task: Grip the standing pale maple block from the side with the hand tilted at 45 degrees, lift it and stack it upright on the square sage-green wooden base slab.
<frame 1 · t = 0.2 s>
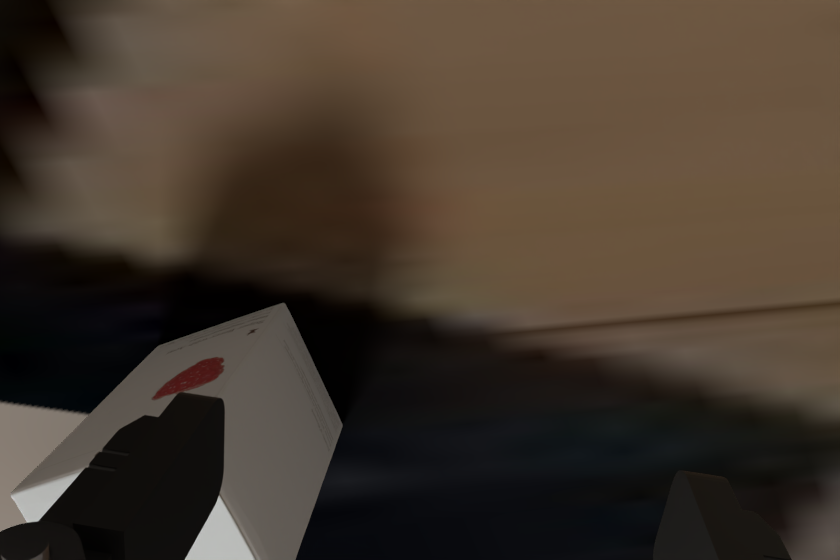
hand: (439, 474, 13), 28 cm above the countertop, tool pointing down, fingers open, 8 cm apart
supplement box: (251, 383, 45), on the countertop
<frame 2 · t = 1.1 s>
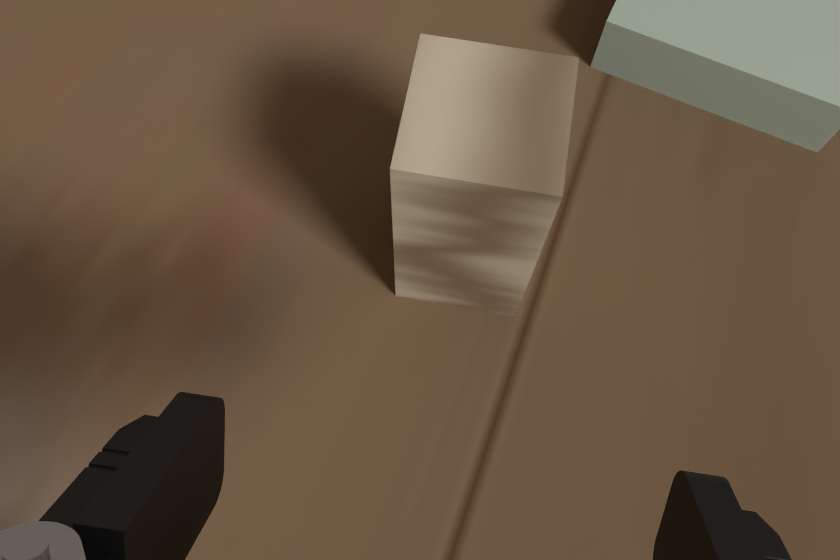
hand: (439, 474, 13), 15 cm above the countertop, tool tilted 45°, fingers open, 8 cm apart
base slab: (729, 31, 36), on the countertop
maple block: (464, 251, 31), on the countertop
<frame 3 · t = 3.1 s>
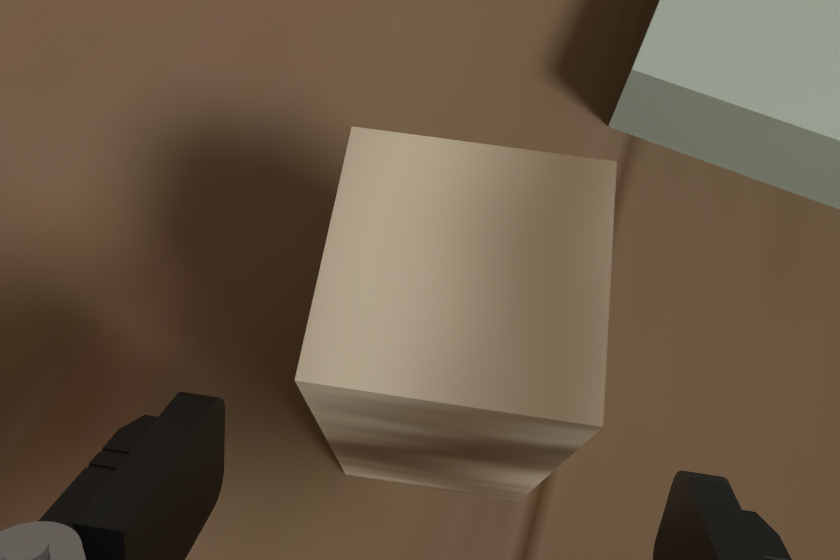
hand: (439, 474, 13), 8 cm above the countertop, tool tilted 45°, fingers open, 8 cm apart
base slab: (790, 71, 27), on the countertop
maple block: (443, 402, 22), on the countertop
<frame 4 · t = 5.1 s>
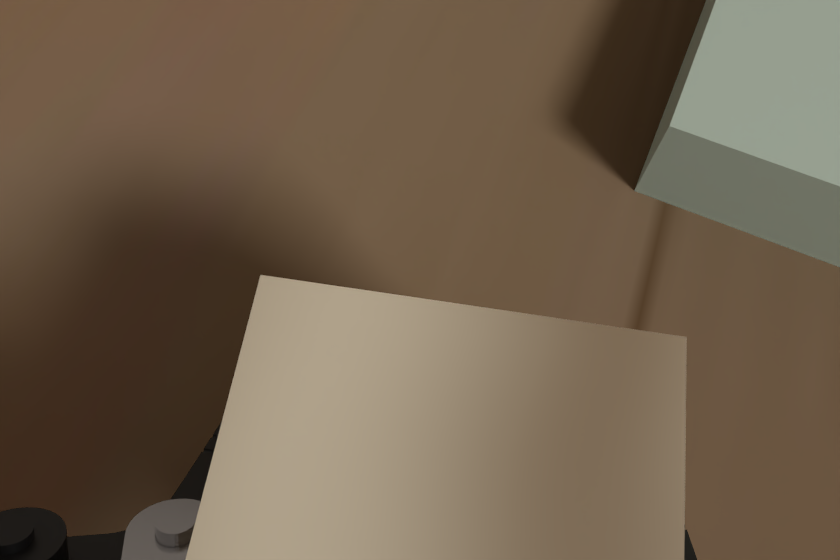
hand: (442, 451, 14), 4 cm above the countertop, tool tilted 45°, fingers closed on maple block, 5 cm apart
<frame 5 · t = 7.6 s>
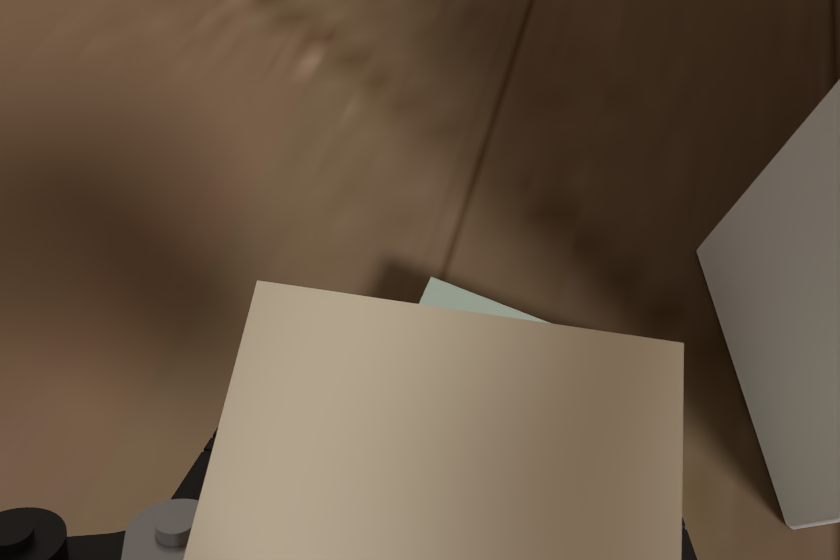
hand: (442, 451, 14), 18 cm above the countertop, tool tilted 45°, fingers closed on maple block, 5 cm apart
base slab: (497, 459, 32), on the countertop
when the fingers open (9 cm above the countertop, at t = 10.6 s): maple block drops 2 cm, resting on base slab.
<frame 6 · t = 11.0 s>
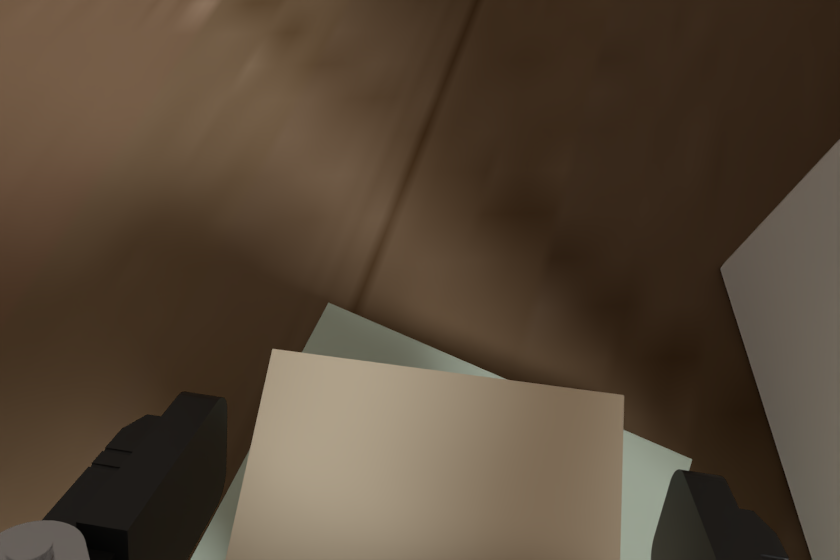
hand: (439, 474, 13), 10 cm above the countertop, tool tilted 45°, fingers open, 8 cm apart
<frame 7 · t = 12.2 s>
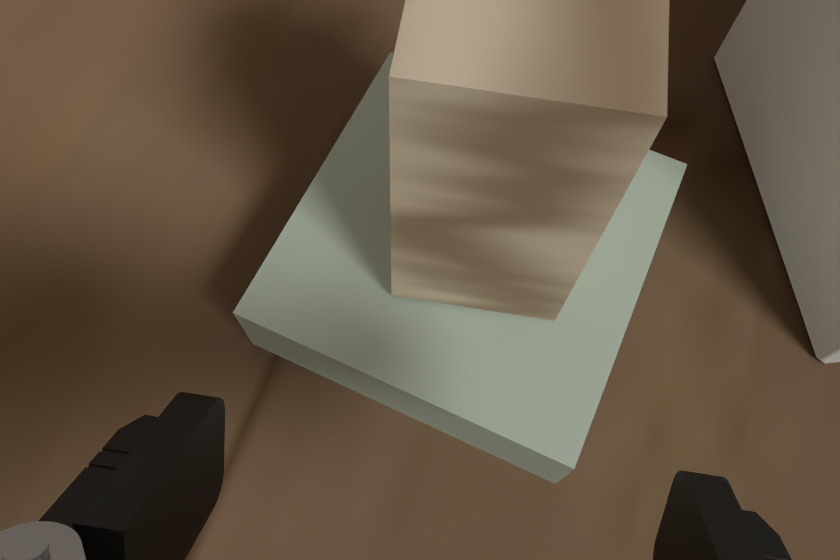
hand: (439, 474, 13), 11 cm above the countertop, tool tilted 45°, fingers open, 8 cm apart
base slab: (463, 278, 27), on the countertop, touching maple block
maple block: (482, 235, 23), point 3 cm above the countertop, touching base slab
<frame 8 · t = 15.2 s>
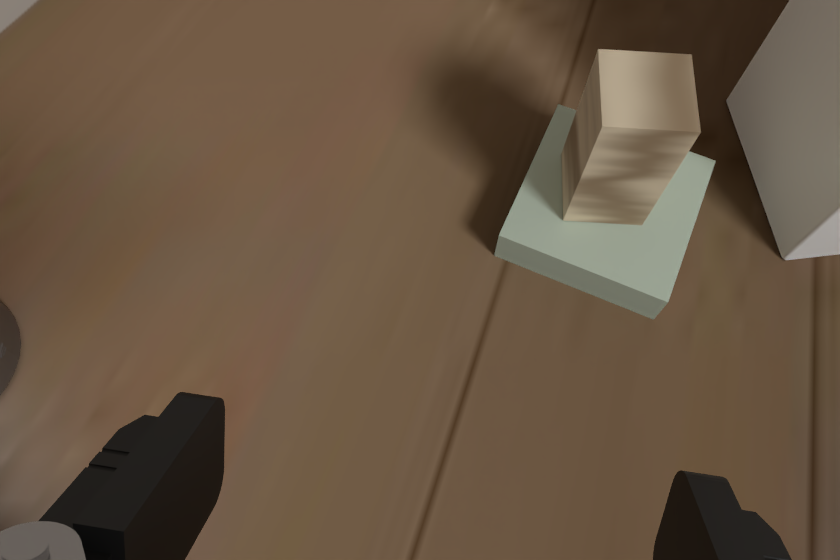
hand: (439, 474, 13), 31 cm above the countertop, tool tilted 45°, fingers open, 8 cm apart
base slab: (597, 222, 50), on the countertop, touching maple block
maple block: (600, 188, 47), point 3 cm above the countertop, touching base slab
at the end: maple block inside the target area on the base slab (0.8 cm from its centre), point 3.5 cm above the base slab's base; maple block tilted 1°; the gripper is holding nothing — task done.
